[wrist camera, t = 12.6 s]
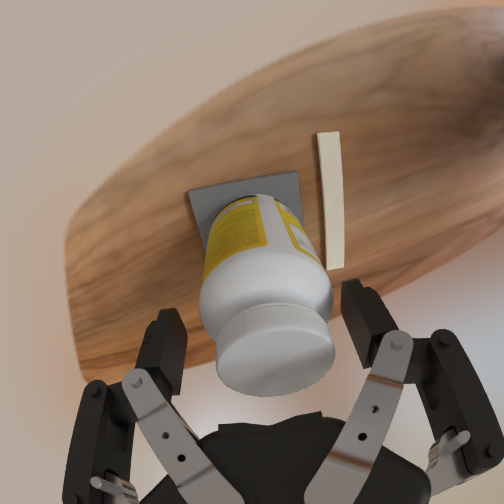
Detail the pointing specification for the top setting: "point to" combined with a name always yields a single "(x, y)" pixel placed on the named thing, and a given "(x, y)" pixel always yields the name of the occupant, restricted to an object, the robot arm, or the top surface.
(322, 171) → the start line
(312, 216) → the top surface
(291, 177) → the mat
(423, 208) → the top surface
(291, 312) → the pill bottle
